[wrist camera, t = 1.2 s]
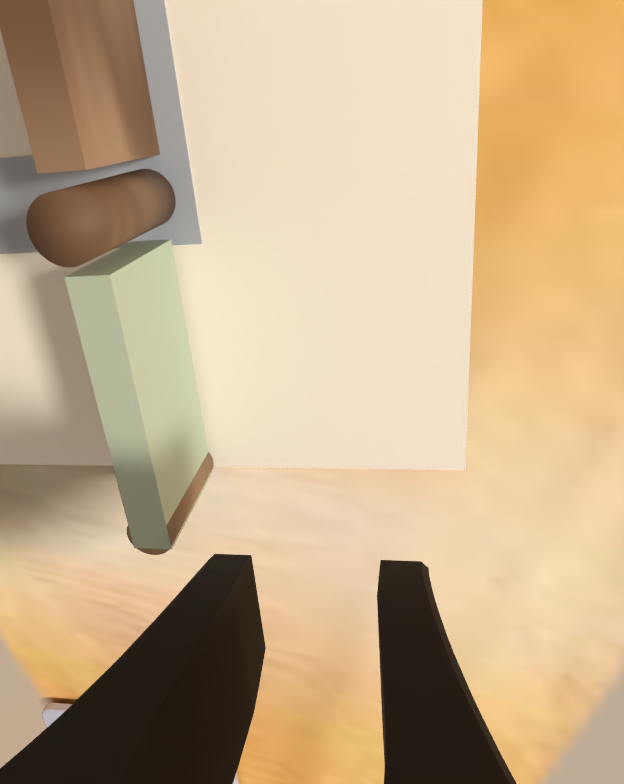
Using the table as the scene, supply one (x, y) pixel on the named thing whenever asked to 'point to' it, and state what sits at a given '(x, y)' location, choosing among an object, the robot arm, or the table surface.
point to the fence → (85, 122)
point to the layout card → (279, 236)
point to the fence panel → (144, 386)
